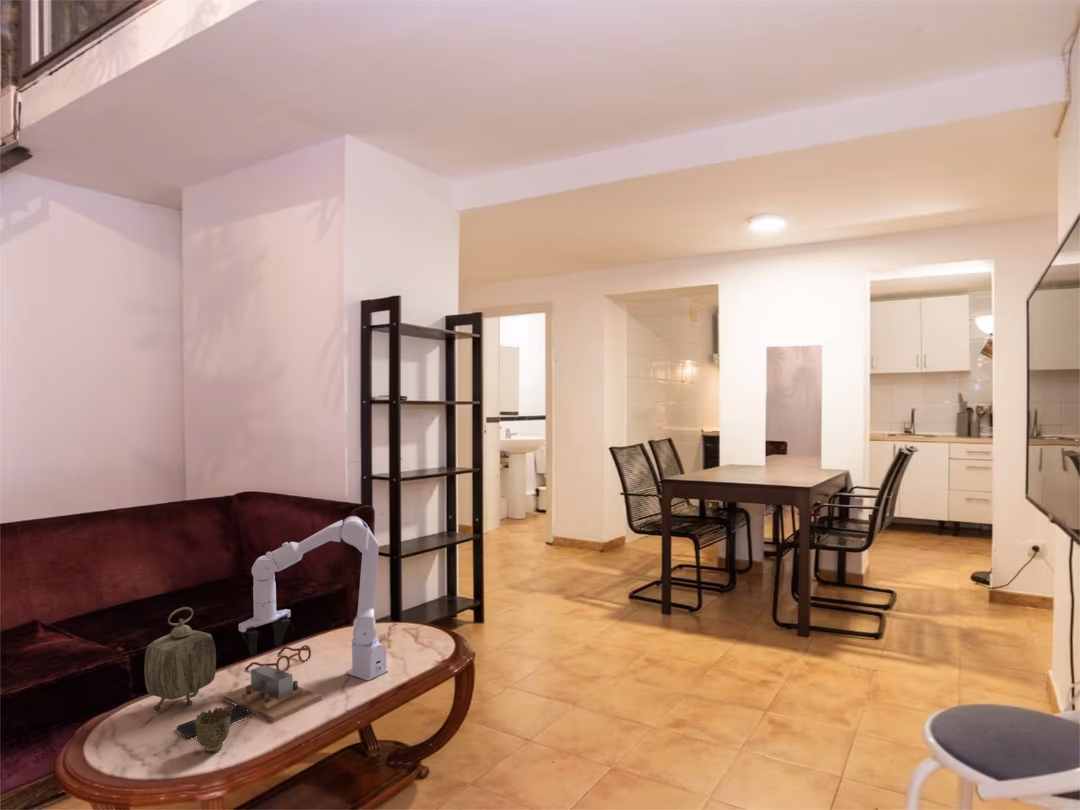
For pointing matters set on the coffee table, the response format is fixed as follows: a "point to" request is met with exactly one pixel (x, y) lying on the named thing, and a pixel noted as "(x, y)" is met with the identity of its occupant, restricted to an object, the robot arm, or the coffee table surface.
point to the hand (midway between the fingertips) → (266, 650)
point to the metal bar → (271, 682)
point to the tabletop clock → (179, 662)
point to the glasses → (286, 657)
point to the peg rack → (272, 701)
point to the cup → (212, 728)
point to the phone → (189, 728)
